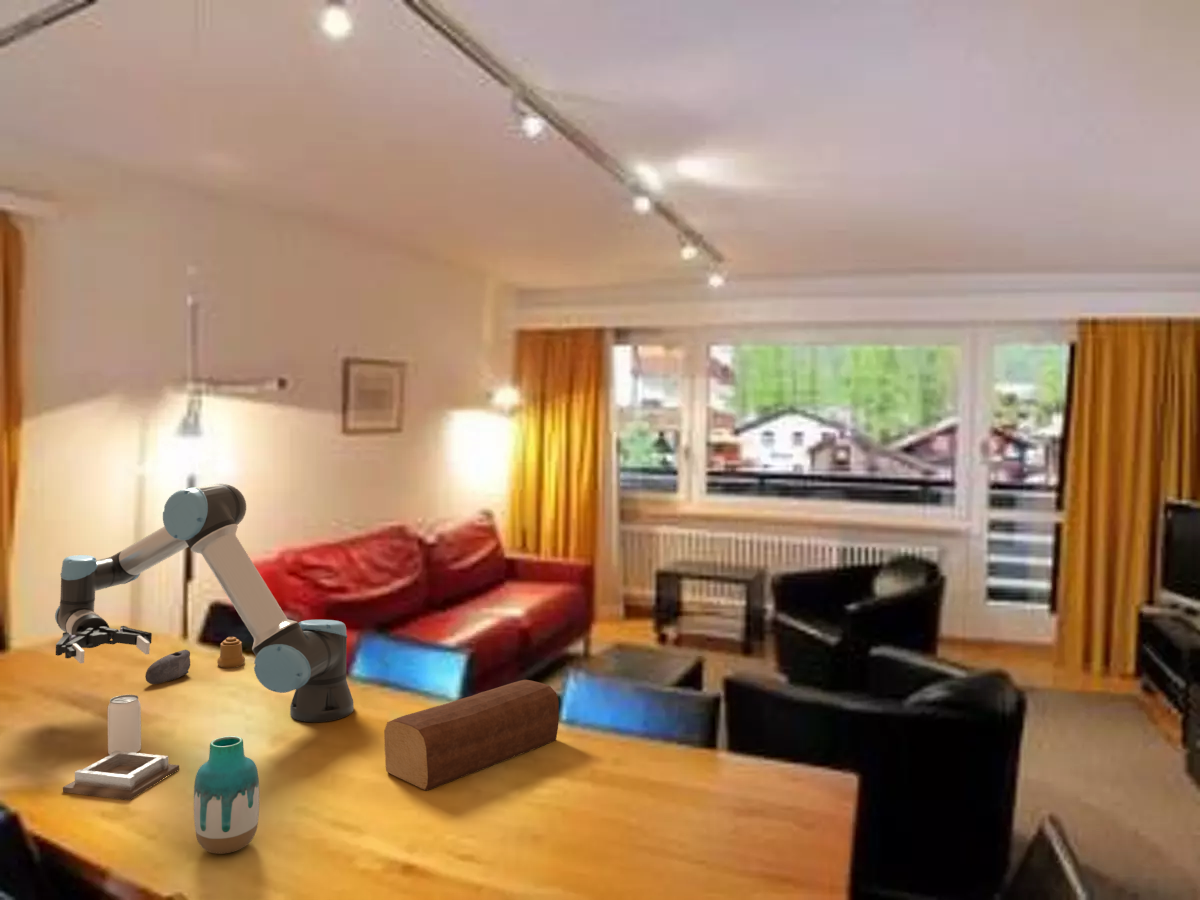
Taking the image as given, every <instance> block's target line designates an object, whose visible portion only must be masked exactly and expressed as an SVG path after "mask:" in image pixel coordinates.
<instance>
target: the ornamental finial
mask: <svg viewBox="0 0 1200 900" xmlns="http://www.w3.org/2000/svg"><path fill="white" fill-rule="evenodd" d="M242 643H243V642H242V641H241V640H240V639H239V638H237V637H236V636H228V637H226V638H225V639H224V640H223V641H222V642H221V643H220V648H219V649H220V650H219V651H220V653H219V657H218V658H217V660H216V661H217V665H218V666H219V667H220V668H223V669H224V668H225V669H231V668H238V667H241V666H243V665H244V663H246V662H245V661H246V657H245V656H244V655H243V646H242V645H243V644H242Z"/></svg>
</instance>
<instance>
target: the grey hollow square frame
mask: <svg viewBox="0 0 1200 900" xmlns="http://www.w3.org/2000/svg"><path fill="white" fill-rule="evenodd" d="M168 764H169V756H168V755H161V754H152V753H144V752H143V753H142V752H138V753H134V752H125V751H114V752H112V754H111V755H110V754H108V755H107V756H105V757H104V758H101V759H100V760H98V761H96V762H93V763H92V764H90V765H89V766H86V767H84V768H82V769H77V770H76V771H74V781H75V784H79V785H87V786H96V787H104V788H113V789H121V790H129V791H131V790H132V789H134V788H135V786H136V785H137V784H139V783H141V782H143V781H144V780H146V779H148V778H149V777H151V776H153V775H154V774H156V773H158V772H159V771H161V770H166V769H168ZM118 765H123V766H132V767H139V768H138V769H136V770H134V771H132V772H131V773H129V774H127V775H123V774H115V773H106V772H107V771H109V770H111V769H113V768H115V767H117V766H118Z"/></svg>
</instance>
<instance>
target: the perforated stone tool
mask: <svg viewBox="0 0 1200 900" xmlns="http://www.w3.org/2000/svg"><path fill="white" fill-rule="evenodd" d="M190 656H191V652H190V650H188V649H182V650H179V651H175V652H172V653H170V654H166V655H165V656H163V657H161V658H160V659H158V660H156V661H154V662H152V664H150V666H148V668H147V669H146V671H145V681H146V682H147V683H148V684H149V685H159V684H162V683H166V682H165V681H167V682H171V681H174V680H176V678H177V679H179V678H180V677H182V676H185V675H187V674H189V669H190V667H191V659H190V658H191V657H190ZM173 679H174V680H173ZM170 680H171V681H170Z"/></svg>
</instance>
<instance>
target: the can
mask: <svg viewBox="0 0 1200 900" xmlns="http://www.w3.org/2000/svg"><path fill="white" fill-rule="evenodd" d="M141 709H142V708H141V701H140V700H139V696H138V695H136V694H123V695H122V694H121V695H118V696H114V697H112V698H110V699H109V704H108V706H107V751H108V753H107V754H108V755H111V754H112V752H114V751H125V752H134V753H137V752H138V751H139V752H140V751H141V749H142V726H141V725H142V721H141V720H142V719H141V718H142V717H141V716H142V715H141V714H142V713H141V711H142V710H141ZM139 752H138V753H139Z"/></svg>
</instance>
